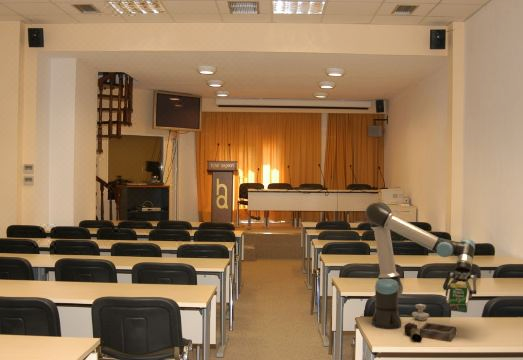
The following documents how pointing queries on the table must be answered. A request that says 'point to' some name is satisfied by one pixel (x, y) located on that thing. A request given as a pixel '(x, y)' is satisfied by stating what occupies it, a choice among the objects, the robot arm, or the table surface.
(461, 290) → the coffee box
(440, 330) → the gray square frame
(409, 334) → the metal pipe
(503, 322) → the table surface
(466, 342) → the table surface
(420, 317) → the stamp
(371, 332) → the table surface
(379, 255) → the robot arm
